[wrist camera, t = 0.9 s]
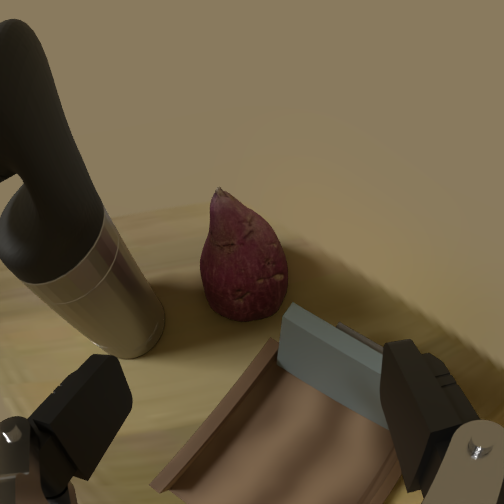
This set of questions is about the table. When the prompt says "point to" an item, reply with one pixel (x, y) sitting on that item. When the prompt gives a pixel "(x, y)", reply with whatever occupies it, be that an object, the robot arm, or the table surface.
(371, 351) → the panel
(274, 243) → the vegetable
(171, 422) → the table surface
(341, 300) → the table surface
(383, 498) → the brown wooden tray
